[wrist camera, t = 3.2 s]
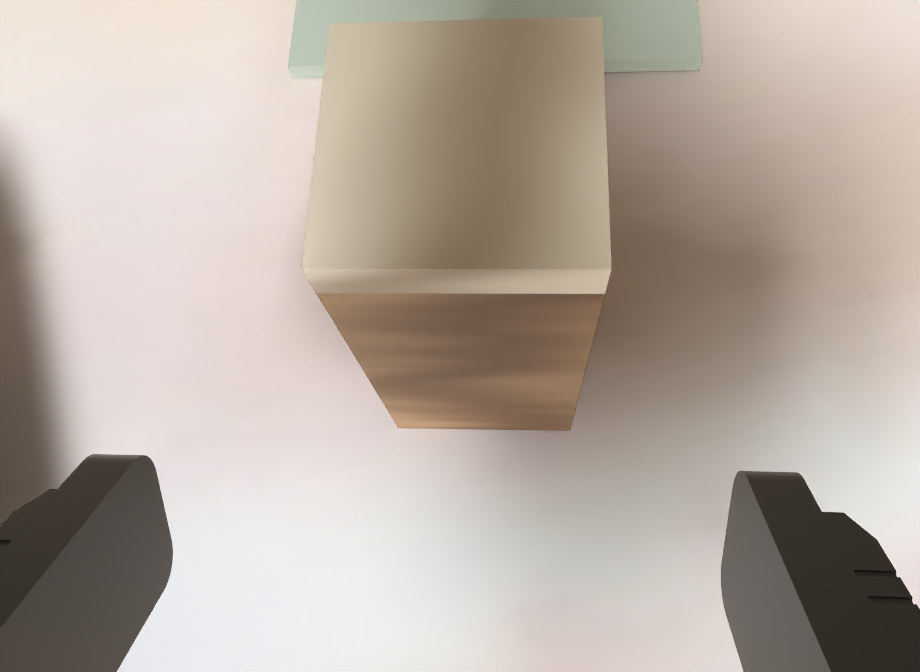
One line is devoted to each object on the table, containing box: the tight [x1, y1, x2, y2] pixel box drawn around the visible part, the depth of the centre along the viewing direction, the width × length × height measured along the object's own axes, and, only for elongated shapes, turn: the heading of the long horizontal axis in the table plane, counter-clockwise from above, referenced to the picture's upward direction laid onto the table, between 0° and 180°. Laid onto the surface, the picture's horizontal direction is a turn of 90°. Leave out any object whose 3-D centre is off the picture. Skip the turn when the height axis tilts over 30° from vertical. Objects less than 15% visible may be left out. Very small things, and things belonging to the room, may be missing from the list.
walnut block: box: [302, 16, 611, 431], centre depth 19 cm, size 5×5×11 cm
